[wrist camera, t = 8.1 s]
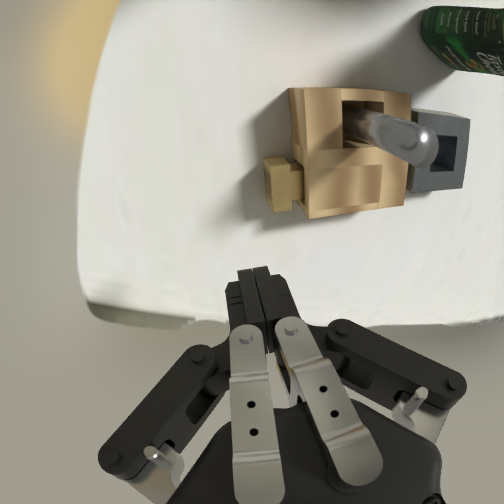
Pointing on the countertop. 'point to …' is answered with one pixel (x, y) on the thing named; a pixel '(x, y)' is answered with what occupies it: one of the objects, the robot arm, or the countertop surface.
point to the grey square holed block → (441, 152)
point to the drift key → (283, 183)
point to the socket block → (345, 151)
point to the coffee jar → (466, 37)
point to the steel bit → (392, 135)
